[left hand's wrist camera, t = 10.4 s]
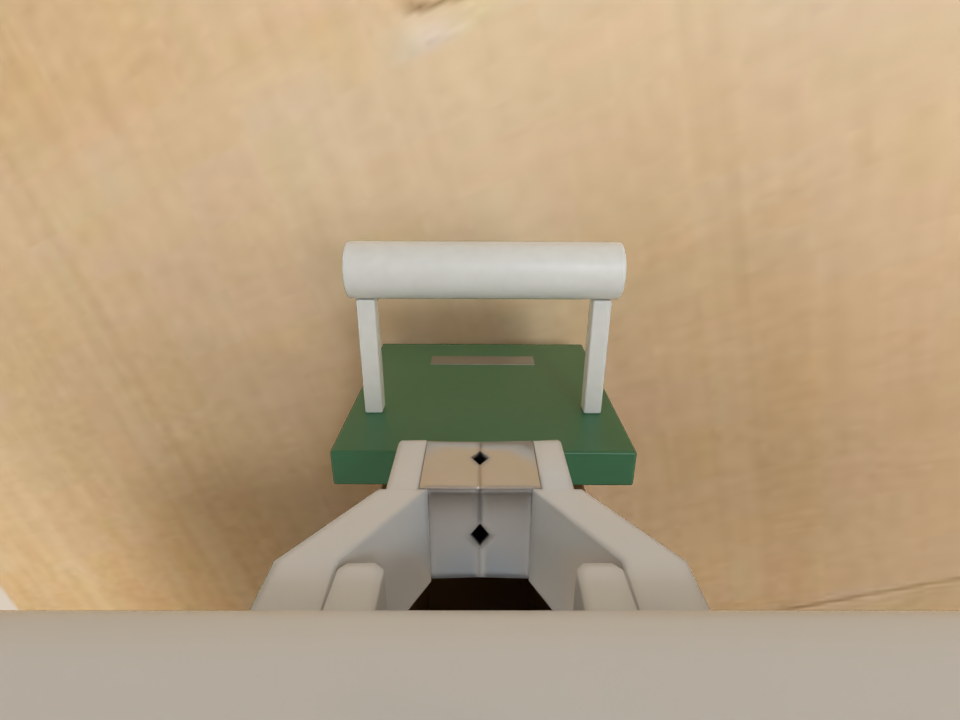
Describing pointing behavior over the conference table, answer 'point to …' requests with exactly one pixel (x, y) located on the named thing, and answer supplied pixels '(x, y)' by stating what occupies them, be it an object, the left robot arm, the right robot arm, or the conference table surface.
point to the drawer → (483, 375)
